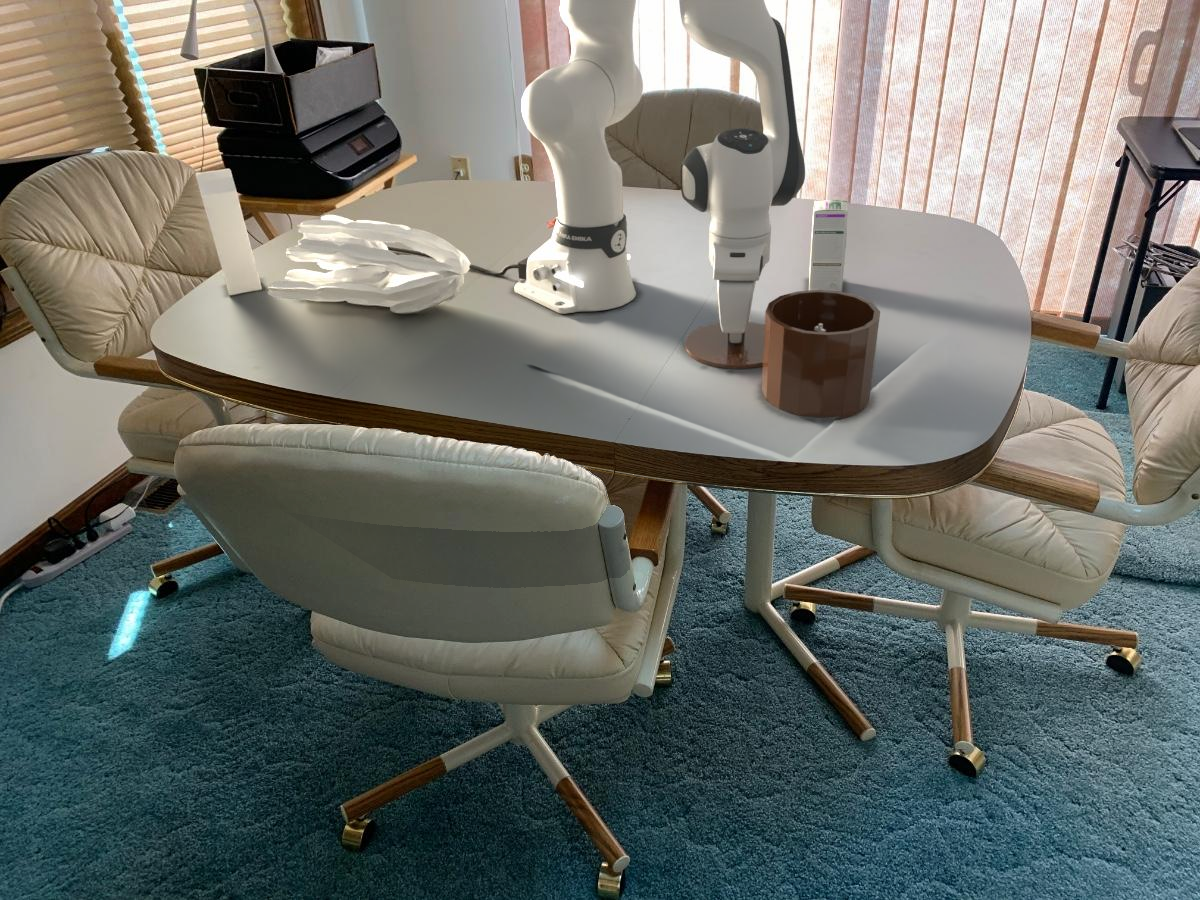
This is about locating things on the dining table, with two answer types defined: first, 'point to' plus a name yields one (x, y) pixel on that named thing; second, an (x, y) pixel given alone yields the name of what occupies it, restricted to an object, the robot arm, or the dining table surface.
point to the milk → (229, 231)
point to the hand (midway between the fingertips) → (736, 335)
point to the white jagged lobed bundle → (372, 266)
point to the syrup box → (828, 245)
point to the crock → (819, 353)
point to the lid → (727, 347)
